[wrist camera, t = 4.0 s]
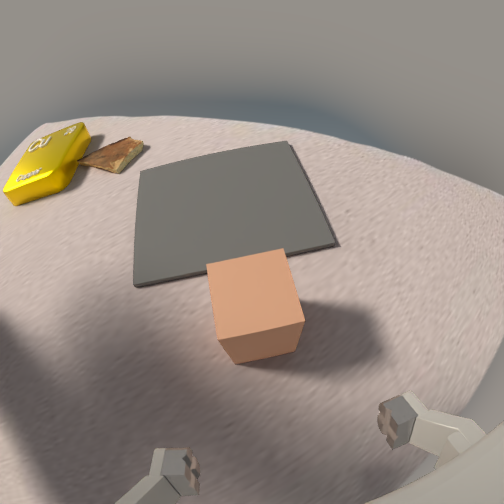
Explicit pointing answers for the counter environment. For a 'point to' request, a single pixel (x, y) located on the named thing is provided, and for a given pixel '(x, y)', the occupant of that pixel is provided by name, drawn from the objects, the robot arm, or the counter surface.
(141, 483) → the robot arm
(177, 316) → the counter surface
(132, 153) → the shard
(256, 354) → the terracotta block
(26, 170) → the element tile
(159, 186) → the charcoal mat
